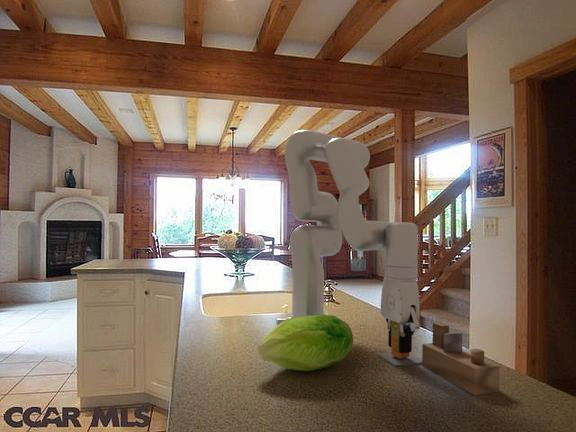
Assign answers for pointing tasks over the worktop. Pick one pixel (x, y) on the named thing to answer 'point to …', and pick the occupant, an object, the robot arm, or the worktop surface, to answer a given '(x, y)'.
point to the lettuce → (307, 342)
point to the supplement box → (396, 340)
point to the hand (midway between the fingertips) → (399, 348)
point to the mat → (400, 360)
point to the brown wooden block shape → (459, 362)
